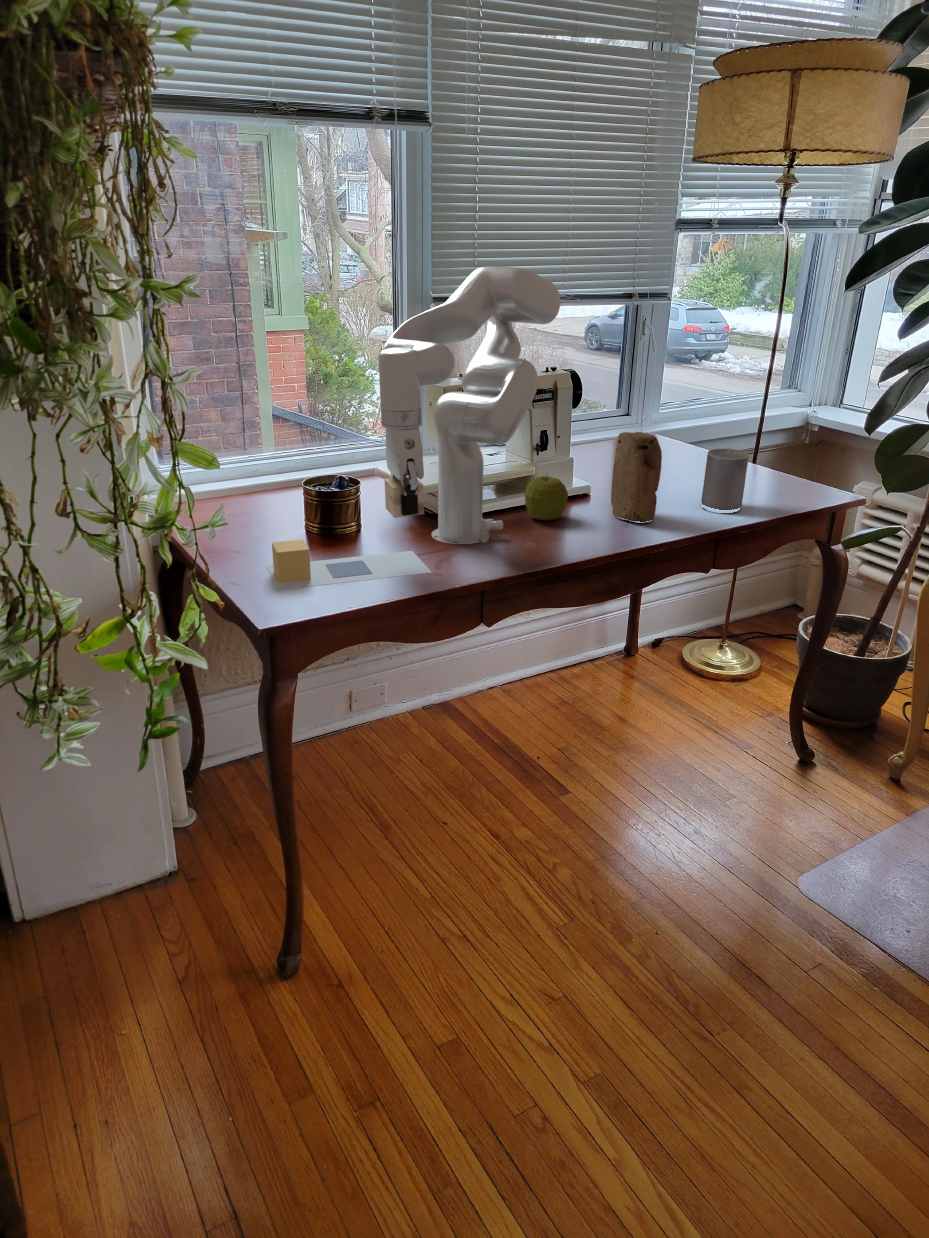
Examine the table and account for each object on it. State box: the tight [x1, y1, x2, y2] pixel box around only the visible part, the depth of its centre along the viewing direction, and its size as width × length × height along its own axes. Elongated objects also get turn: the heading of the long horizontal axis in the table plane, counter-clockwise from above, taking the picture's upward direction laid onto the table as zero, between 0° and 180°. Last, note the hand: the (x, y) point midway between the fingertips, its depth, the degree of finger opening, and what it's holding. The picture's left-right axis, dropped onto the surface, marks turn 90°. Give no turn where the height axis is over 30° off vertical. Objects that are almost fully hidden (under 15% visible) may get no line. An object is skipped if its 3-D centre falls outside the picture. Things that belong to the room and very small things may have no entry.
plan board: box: [265, 550, 433, 591], centre depth 180 cm, size 30×13×1 cm, turn 110°
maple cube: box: [383, 476, 425, 519], centre depth 179 cm, size 6×6×6 cm
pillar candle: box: [700, 447, 750, 510], centre depth 223 cm, size 10×10×15 cm
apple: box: [524, 473, 569, 522], centre depth 214 cm, size 10×10×11 cm
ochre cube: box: [271, 538, 311, 583], centre depth 176 cm, size 6×6×6 cm
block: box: [610, 431, 663, 522], centre depth 213 cm, size 11×8×20 cm
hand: (404, 508), depth 180 cm, fingers closed on maple cube, 5 cm apart
